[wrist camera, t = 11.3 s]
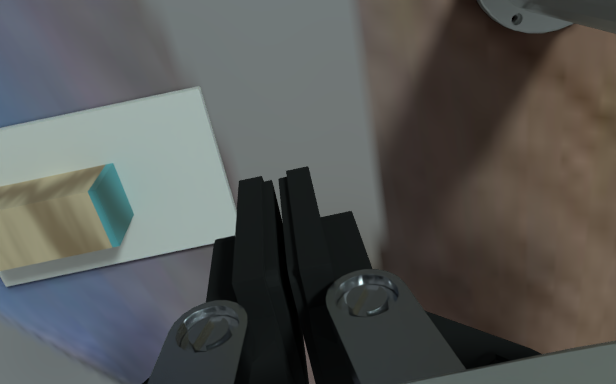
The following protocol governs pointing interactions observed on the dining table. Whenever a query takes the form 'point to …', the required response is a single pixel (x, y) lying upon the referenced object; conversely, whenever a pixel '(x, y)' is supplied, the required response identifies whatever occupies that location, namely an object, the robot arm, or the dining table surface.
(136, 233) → the grey mat
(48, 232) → the oak block
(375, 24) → the dining table surface
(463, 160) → the dining table surface
